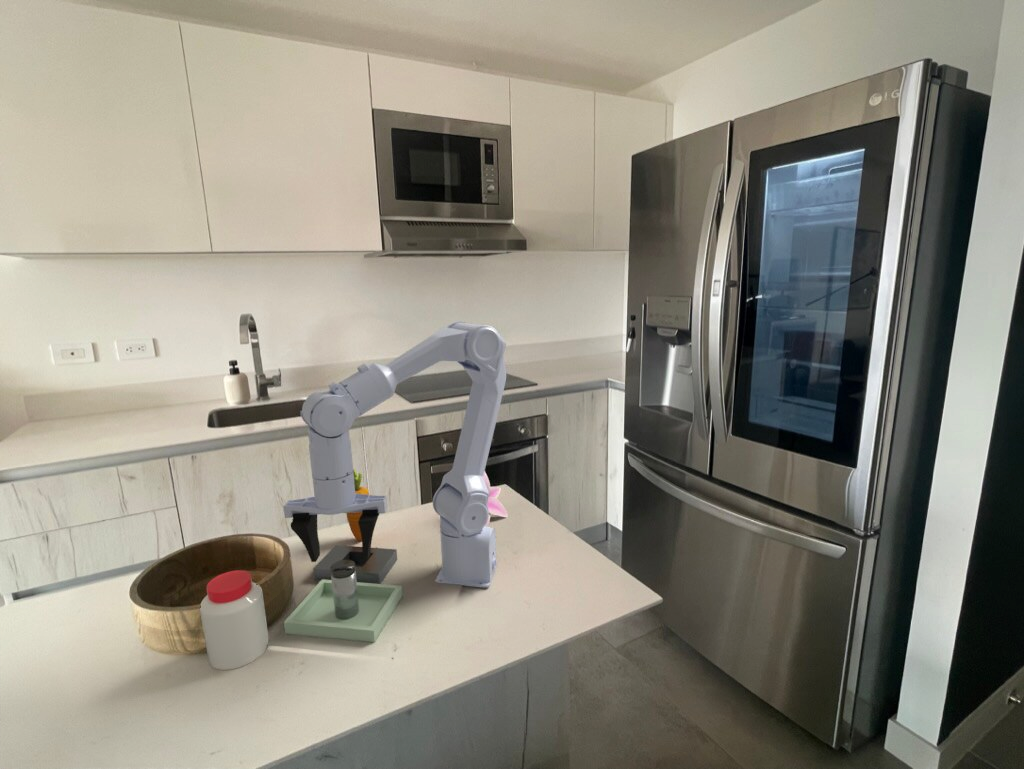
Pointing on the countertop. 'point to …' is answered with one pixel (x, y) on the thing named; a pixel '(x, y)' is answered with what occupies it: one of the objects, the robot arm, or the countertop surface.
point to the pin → (344, 589)
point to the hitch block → (358, 563)
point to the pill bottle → (234, 620)
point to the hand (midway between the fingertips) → (341, 557)
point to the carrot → (354, 517)
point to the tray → (366, 626)
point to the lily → (494, 500)
